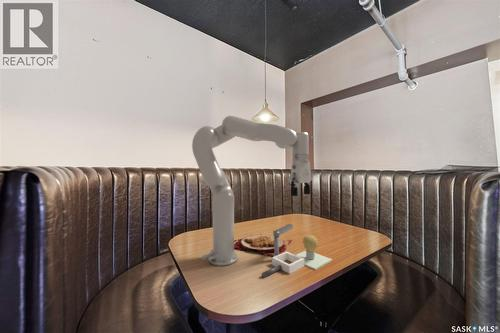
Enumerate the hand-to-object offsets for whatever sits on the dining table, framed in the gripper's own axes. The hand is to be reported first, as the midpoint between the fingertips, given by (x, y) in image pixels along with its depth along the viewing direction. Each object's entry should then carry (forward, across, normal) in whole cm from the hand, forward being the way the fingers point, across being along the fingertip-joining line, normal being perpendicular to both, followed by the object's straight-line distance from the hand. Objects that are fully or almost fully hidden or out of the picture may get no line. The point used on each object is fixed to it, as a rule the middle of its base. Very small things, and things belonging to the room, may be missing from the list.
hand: (300, 195), depth 91 cm
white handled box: (+28, -17, -1) cm, 33 cm away
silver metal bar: (+17, -6, +6) cm, 19 cm away
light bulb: (+28, 0, -5) cm, 28 cm away
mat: (+28, 0, -5) cm, 29 cm away
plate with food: (+29, -4, +22) cm, 37 cm away
